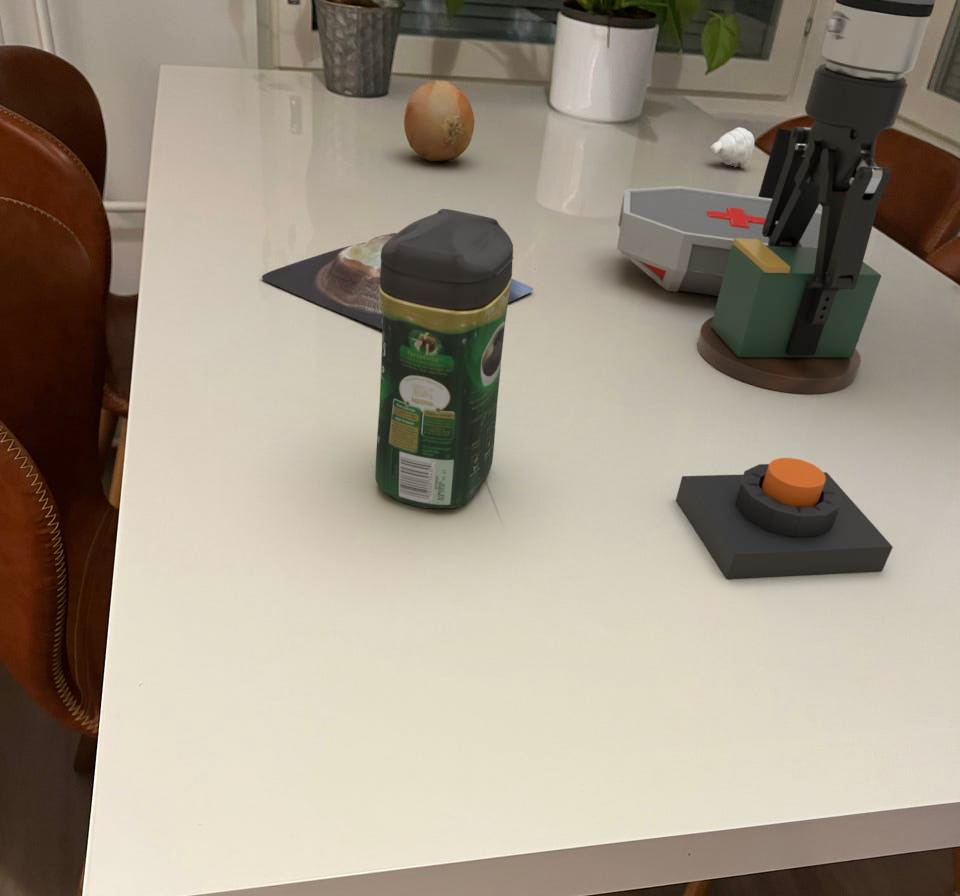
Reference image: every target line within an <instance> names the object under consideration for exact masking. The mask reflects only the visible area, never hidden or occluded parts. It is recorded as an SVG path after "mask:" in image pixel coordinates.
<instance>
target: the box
mask: <svg viewBox="0 0 960 896" xmlns="http://www.w3.org/2000/svg"><path fill="white" fill-rule="evenodd" d="M816 254H817V248H814V247H779V246H765V245H764V244H763V243H762V242H761V241H759V240H758V239H743V238H735V239H734V243H733V245H732V246H731V249H730V253H729V257H728V261H727V265H726V269H725V273H724V277H723V281H722V285H721V289H720V292H719V296H717V300H716V304H715V309H714V312H713V316H712V317H713V320H712V324H711V328H712V329H713V330H714V331H715V332H716V333H717V334H718V335H719V337H720V338H721V339H722V340H723V341H724V342H725V343H726V344H727V345H728V346H729V348H730V349H731V350H732V351H733V352H734V353H735V354H736V355H737V356H738V357H798V358H852V357H853V354H854V351H855V348H856V349H857V345H858V342H859V339H860V337H861V334H862V332H863V328H864V325H865V323H866V321H867V318H868V314H869V312H870V309H871V306H872V304H873V301H874V298H875V294H876V292H877V289H878V287H879V283H880V280H881V278H882V274H881V273H879V272H878V271H876V270H875V269H874V268H872V267H871V266H870V265H869V264H867V263H866V262H864V261H863V263H862V267H861V270H860V274H859V278H858V281H857V285H856V287H855V288H854V289H840V290H838V291H837V293H836V296H835V299H834V302H833V305H832V308H831V309H830V310H831V311H830V314H829V317H828V320H827V322H826V323H825V325H824V328H823V331H822V334H821V337H820V340H819V343H818V346H817V349H816V352H815V355H788V354H787V353H786V352H785V350H786V347H787V344H788V341H789V338H790V334H791V331H792V328H793V325H794V321H795V318H796V315H797V312H798V309H799V305H800V302H801V299H802V296H803V292H804V289H805V286H806V281H813V278H814V270H815V262H816ZM826 274H827V272H826Z"/></svg>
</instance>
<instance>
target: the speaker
mask: <svg viewBox="0 0 960 896" xmlns="http://www.w3.org/2000/svg"><path fill="white" fill-rule="evenodd" d="M791 131H792V129H787V128H782V127H781V128H780V127H777V130H776V133H775V137H774V140H773V144H772V147H771V151H770V154H769V157H768V161H767V165H766V168H765V172H764V174H763V179H762V182H761V186H760V188H759V192H758V195H757V197H762V198H769V199H773V196H774V193H775V190H776V187H777V184H778V181H779V178H780V175H781V172H782V169H783V166H784V163H785V160H786V157H787V153H788V147H789V141H790V135H791ZM801 156H803V155H802V154H801Z"/></svg>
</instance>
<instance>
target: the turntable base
mask: <svg viewBox="0 0 960 896" xmlns="http://www.w3.org/2000/svg"><path fill="white" fill-rule="evenodd" d="M712 320H713V316H712V317H710V318H708V319H707V320H706V321H704V322H703V323H702V324H701V327H700V332H699V335H698V339H697V344H696V345H697V350H698V352H699V355H701V357H702V358H703V359H704V360H705V362H706V363H708V364H709V365H710V366H712V367H713V368H715V369H716V370H717V371H719V372H721V373H723V374H724V375H727V376H729V377H731V378H733V379H736V380H738V381H740V382H743V383H746V384H748V385H752V386H755V387H759V388H763V389H767V390H770V391H771V390H772V391H775V392H776V391H777V392H782V393H789V394H801V395H818V394H819V395H820V394H829V393H834V392H837V391H841V390H843V389H845V388H847V387H849V386H850V385H851V384H853V382H854V381H855V379H856V377H857V374H858V371H859V368H860V366H861V363H862V360H861V354H860V352H859V350H858V349H857V347H856V348H855V351H854V354H853V357H852V358H798V357H738V356H737V355H736V354H735V353H734V352H733V351H732V350H731V349H730V348H729V346H728V345H727V344H726V343H725V342H724V341H723V340H722V339H721V338H720V337H719V335H718V334H717V333H716V332H715V331H714V330H713V329H712V328H711V324H712Z"/></svg>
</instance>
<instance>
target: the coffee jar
mask: <svg viewBox="0 0 960 896" xmlns="http://www.w3.org/2000/svg"><path fill="white" fill-rule="evenodd" d="M396 233H397V234H396V235H394V236H393V237H392V238H391V239H390V240H389V241H388V242H386V243H385V244H384V246H383V247H382V250H381V269H380V285H379V294H380V302H381V311H382V329H381V356H380V357H381V359H380V360H381V362H380V364H381V365H380V383H379V384H380V385H379V389H380V390H379V404H378V405H379V406H378V420H377V421H378V422H377V433H376V448H375V449H376V451H375V452H376V453H375V471H374V472H375V474H374V475H375V476H374V478H375V482H376V484H377V486H378V487H379V489H380V490H382V492H384V493H385V494H387V495H389V496H391V497H392V498H394V499H395V500H397V501H399V502H402V503H404V504H408V505H410V506H413V507H419V508H424V509H451V508H454V509H455V508H459V507H461V506H463V505H465V504H466V503H467V502H468V501H470V500H471V499H472V498H473V497H474V495H475V494H476V493H477V492H478V491H479V489H480V488H481V487H482V485H483V484H484V482H485V481H486V479H487V478H488V475H489V473H490V471H491V468H492V466H493V460H494V452H495V451H494V450H495V449H494V448H495V440H496V439H495V438H496V424H497V411H498V401H499V400H498V399H499V389H500V386H499V385H500V378H501V369H502V368H501V367H502V357H503V356H502V355H503V347H504V337H505V329H506V320H507V313H508V306H509V303H508V299H509V293H510V285H511V279H512V277H513V259H514V245H513V241H512V239H511V237H510V235H509V234H508V233H507V232H506V230H505V229H504V228H503V227H502V226H501V224H500V223H499V222H498V220H497V219H495V218H494V217H489V216H484V215H480V214H474V213H471V212H470V213H469V212H465V211H459V210H454V209H449V208H441V209H439V210H438V211H437V212H436V213H433V214H430V215H427V216H425V217H422V218H420V219H418V220H416V221H413V222H412V223H410V224H408V225H406V226H405V227H404V228H403V229H401V230H399V231H398V232H396Z"/></svg>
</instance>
